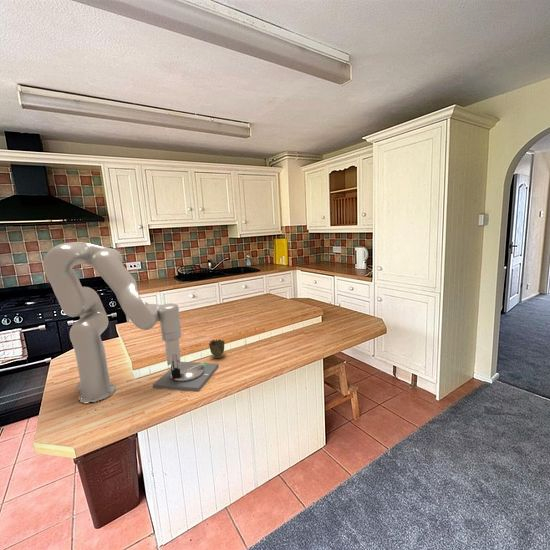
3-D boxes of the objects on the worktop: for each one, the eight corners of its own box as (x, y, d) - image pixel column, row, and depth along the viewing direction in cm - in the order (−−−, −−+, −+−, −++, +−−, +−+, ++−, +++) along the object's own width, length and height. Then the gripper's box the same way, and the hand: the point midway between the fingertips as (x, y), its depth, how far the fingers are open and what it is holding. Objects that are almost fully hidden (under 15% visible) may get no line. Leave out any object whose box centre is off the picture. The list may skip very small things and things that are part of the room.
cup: (222, 361, 139) (220, 345, 138) (207, 360, 141) (206, 344, 139) (227, 354, 146) (226, 339, 145) (214, 353, 148) (212, 338, 146)
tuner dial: (182, 385, 116) (180, 369, 115) (163, 374, 125) (162, 359, 124) (215, 368, 129) (214, 353, 128) (196, 360, 138) (195, 346, 137)
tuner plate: (153, 388, 119) (152, 384, 119) (178, 364, 138) (178, 361, 138) (198, 391, 115) (198, 387, 114) (218, 366, 134) (218, 363, 134)
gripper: (160, 329, 124) (165, 369, 128) (162, 343, 110) (167, 388, 113) (179, 326, 127) (183, 365, 131) (183, 339, 113) (188, 383, 116)
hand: (176, 375), depth 122 cm, fingers closed on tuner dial, 2 cm apart
